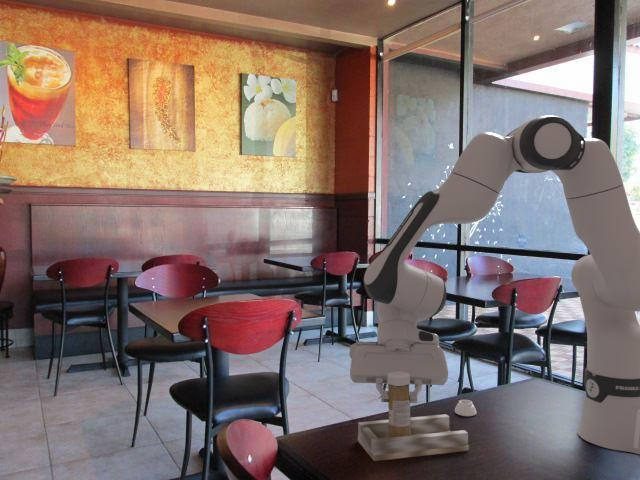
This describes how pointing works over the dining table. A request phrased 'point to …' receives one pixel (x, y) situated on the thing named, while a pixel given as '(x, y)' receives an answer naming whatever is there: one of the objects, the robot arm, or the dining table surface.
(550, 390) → the dining table surface
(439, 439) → the track
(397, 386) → the sprinkles bottle
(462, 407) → the lidless jar
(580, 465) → the dining table surface
